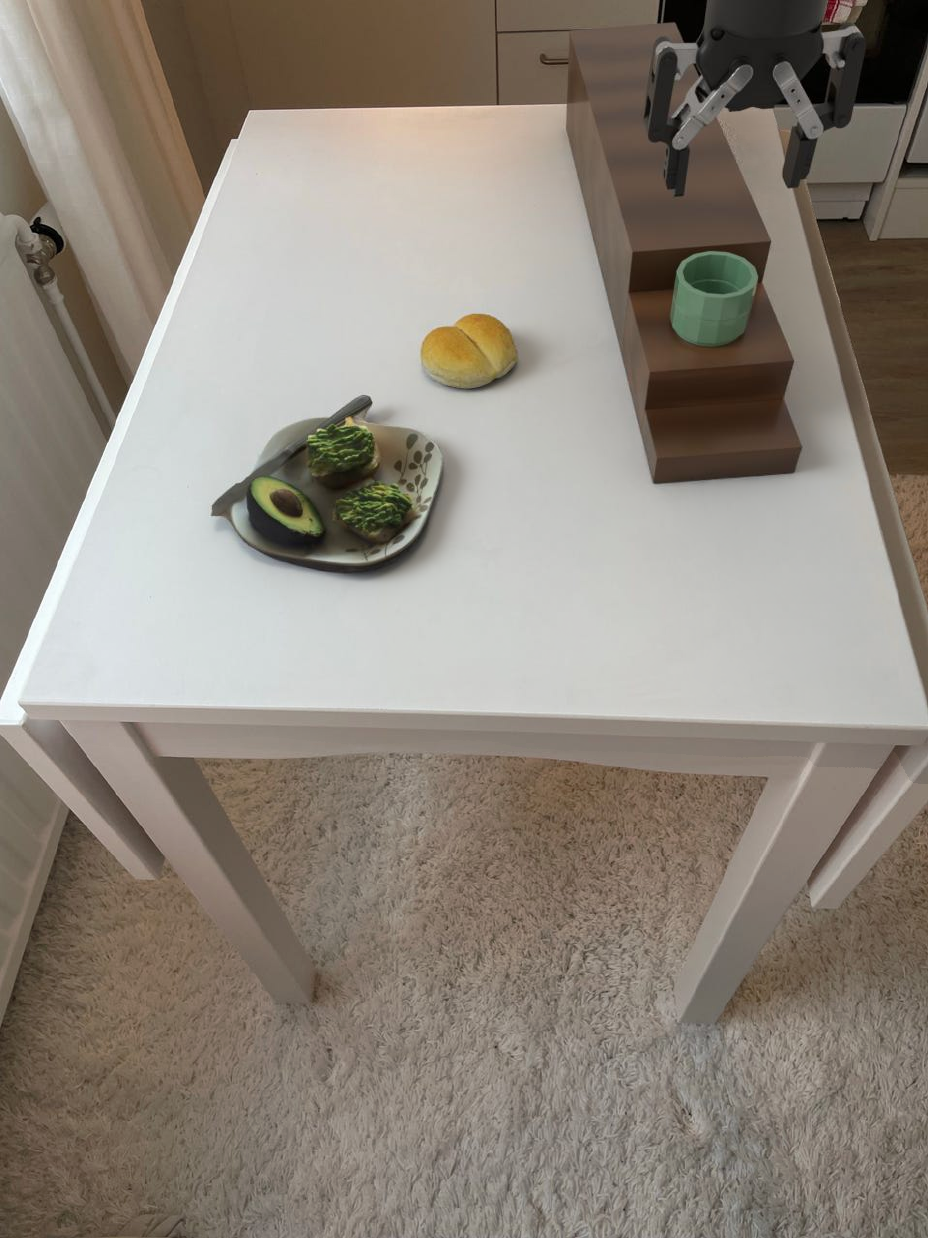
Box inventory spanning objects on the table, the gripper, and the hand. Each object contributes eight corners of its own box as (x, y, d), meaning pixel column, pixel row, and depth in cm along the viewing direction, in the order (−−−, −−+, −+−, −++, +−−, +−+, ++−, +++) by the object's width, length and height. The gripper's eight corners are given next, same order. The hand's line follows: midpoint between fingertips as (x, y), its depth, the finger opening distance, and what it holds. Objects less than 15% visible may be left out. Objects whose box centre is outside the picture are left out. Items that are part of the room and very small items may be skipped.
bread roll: (407, 357, 92) (403, 322, 89) (486, 325, 95) (485, 290, 91) (449, 405, 88) (446, 370, 85) (531, 370, 90) (532, 335, 87)
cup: (754, 311, 83) (766, 259, 79) (734, 356, 79) (745, 304, 75) (682, 295, 84) (690, 244, 80) (659, 338, 81) (667, 287, 77)
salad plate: (287, 397, 90) (277, 357, 86) (470, 426, 86) (468, 385, 82) (199, 550, 79) (183, 512, 75) (404, 590, 75) (398, 552, 71)
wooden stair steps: (794, 473, 81) (828, 368, 72) (652, 483, 81) (669, 380, 72) (663, 120, 117) (675, 21, 108) (565, 127, 117) (569, 30, 108)
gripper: (674, -34, 56) (646, 222, 69) (915, -53, 56) (842, 206, 69) (652, -79, 61) (630, 169, 74) (875, -97, 61) (814, 154, 74)
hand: (733, 187), depth 72 cm, fingers open, 8 cm apart
